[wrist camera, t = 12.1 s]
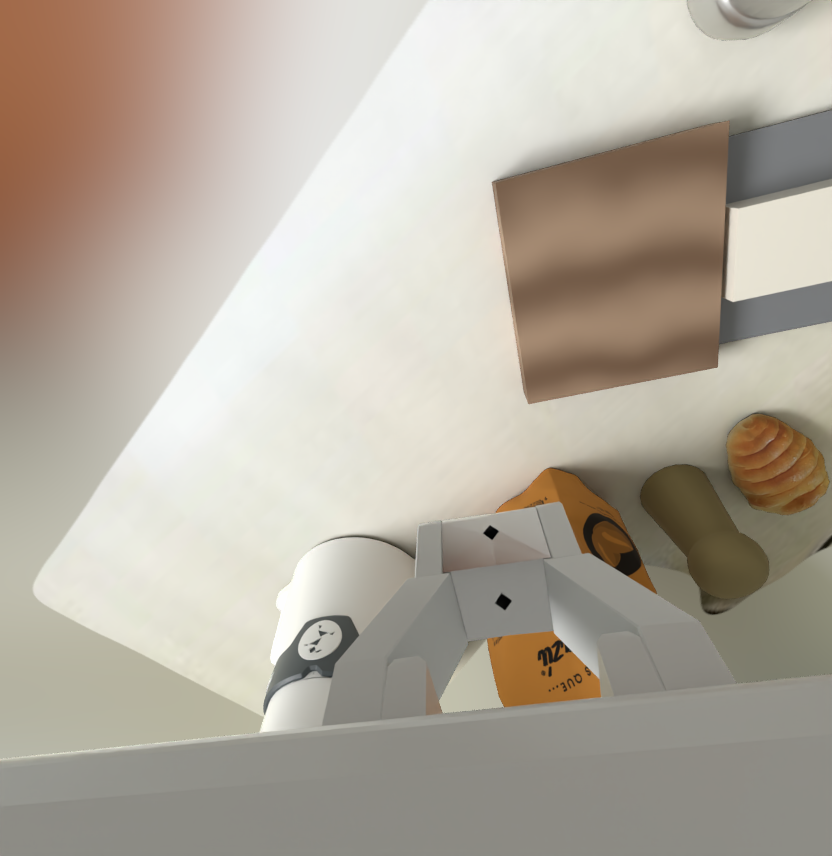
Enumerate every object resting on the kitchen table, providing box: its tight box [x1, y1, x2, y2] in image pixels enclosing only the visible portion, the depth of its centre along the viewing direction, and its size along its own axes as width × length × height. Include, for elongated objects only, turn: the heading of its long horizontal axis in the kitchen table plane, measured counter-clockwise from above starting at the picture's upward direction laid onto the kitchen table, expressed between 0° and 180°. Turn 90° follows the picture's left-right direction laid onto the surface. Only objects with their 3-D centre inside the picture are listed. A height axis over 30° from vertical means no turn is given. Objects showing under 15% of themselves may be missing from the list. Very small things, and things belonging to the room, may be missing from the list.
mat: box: [719, 110, 832, 344], centre depth 33 cm, size 14×14×1 cm
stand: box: [492, 121, 729, 404], centre depth 34 cm, size 16×14×2 cm
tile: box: [721, 179, 832, 302], centre depth 32 cm, size 6×9×2 cm, turn 104°
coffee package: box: [487, 468, 657, 707], centre depth 37 cm, size 10×12×22 cm
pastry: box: [726, 414, 830, 515], centre depth 40 cm, size 9×7×4 cm
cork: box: [640, 465, 769, 599], centre depth 39 cm, size 6×6×11 cm
